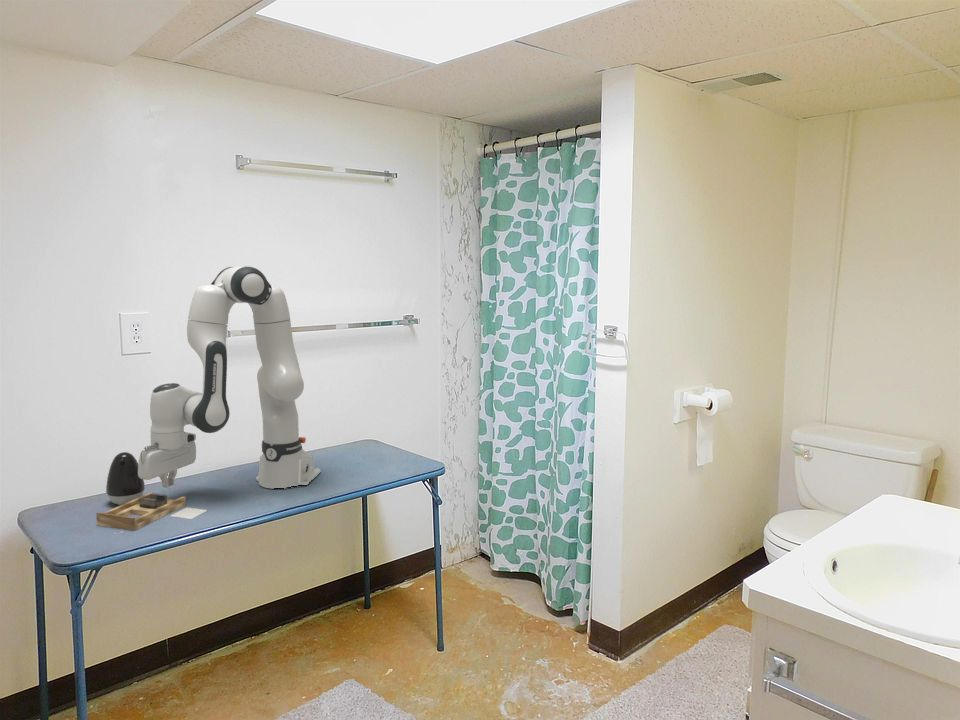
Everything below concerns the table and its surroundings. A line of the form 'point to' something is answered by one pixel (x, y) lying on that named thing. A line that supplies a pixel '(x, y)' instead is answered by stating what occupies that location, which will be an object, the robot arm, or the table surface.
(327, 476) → the table surface
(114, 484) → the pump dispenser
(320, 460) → the table surface
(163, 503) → the clip
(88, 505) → the table surface
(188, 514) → the white square plate
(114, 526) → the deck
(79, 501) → the table surface
